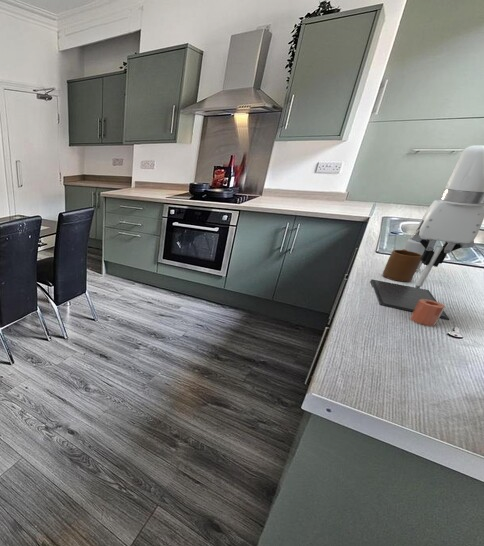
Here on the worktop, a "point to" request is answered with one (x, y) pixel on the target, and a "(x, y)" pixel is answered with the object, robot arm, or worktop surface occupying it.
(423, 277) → the stylus
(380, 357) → the worktop surface
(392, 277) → the mug
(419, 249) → the beverage can
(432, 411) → the worktop surface
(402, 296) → the plate
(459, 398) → the worktop surface
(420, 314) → the pen pot
